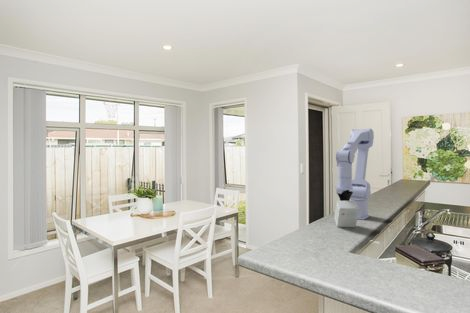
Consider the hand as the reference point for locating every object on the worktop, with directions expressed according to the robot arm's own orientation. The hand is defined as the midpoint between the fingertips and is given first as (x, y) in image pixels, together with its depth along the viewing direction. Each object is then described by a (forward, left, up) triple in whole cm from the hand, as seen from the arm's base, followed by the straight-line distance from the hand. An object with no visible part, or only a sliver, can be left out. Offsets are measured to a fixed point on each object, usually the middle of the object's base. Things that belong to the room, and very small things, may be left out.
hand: (344, 207), depth 128 cm
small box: (+1, 0, -7) cm, 7 cm away
